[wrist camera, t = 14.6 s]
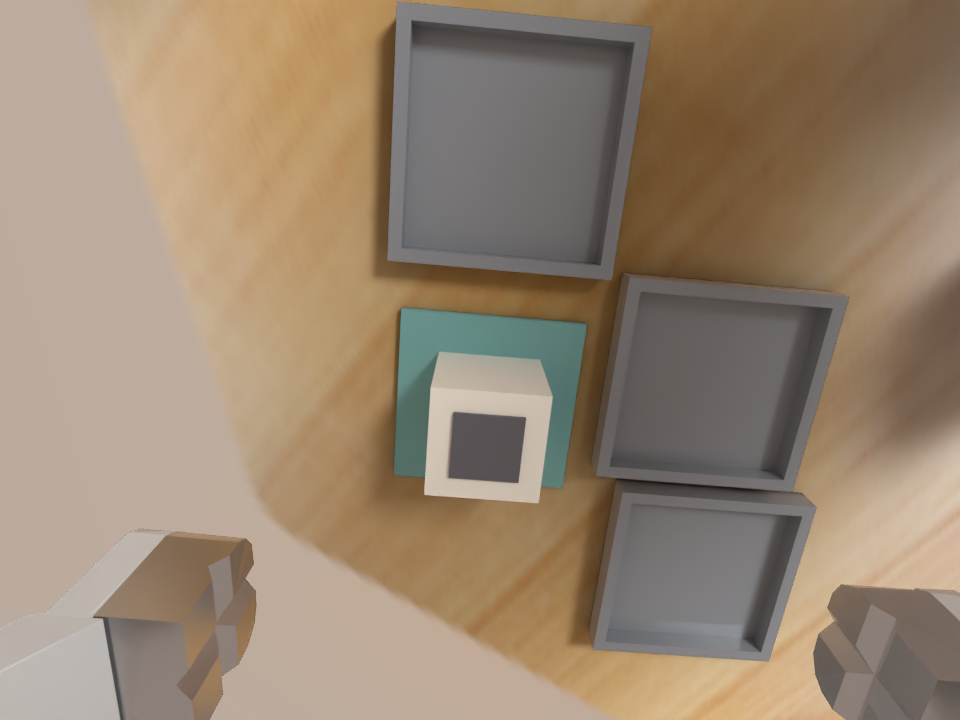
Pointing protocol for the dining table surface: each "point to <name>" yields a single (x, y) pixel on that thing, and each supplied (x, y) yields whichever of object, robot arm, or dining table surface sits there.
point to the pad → (491, 337)
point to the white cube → (487, 427)
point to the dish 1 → (512, 139)
